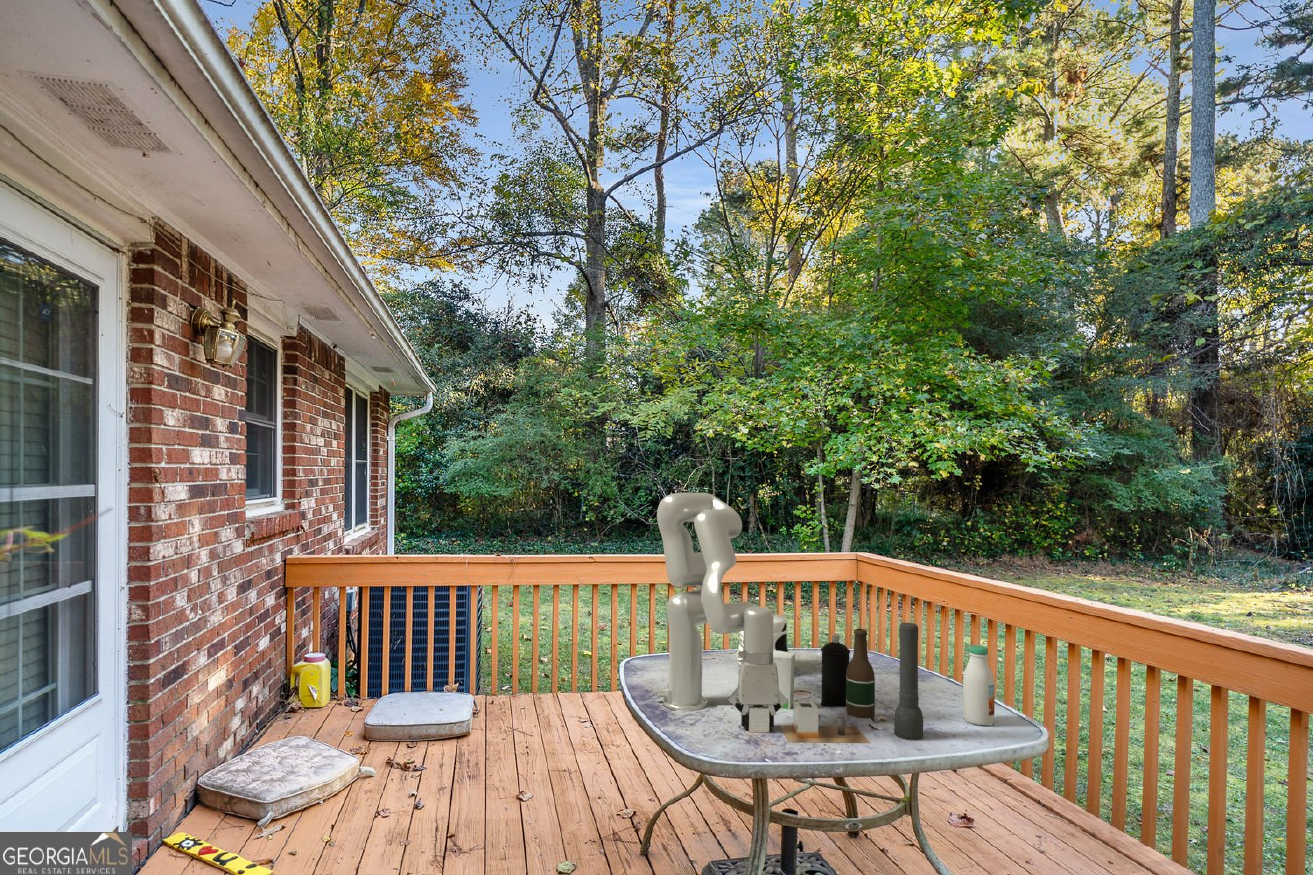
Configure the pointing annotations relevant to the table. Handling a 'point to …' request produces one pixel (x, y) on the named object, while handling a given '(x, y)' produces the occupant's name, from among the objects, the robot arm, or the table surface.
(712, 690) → the table surface
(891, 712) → the table surface
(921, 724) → the flashlight
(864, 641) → the beer bottle
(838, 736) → the pin board
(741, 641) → the milk container
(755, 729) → the sleeve
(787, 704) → the skincare box
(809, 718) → the sleeve seated
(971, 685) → the milk bottle
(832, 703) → the aerosol can
